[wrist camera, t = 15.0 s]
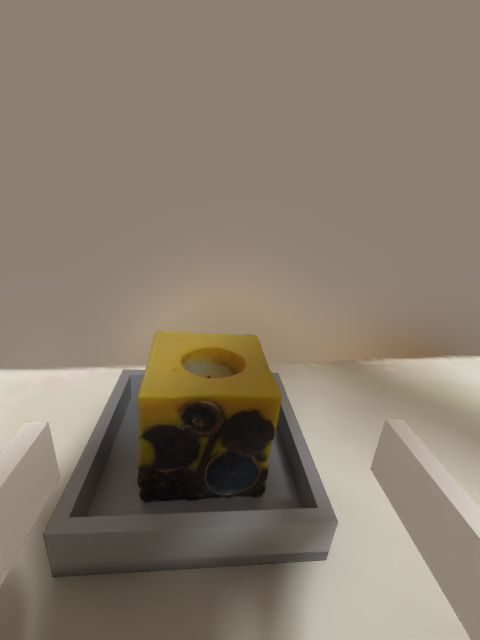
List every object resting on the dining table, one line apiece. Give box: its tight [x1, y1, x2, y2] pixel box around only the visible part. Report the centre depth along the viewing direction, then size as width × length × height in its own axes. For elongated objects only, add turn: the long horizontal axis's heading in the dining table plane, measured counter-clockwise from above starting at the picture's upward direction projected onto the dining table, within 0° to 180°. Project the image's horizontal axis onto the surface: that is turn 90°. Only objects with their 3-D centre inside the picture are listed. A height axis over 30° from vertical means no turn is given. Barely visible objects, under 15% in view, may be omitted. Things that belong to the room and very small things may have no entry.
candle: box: [137, 331, 282, 502], centre depth 26 cm, size 10×10×10 cm
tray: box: [43, 370, 338, 577], centre depth 27 cm, size 18×18×4 cm
